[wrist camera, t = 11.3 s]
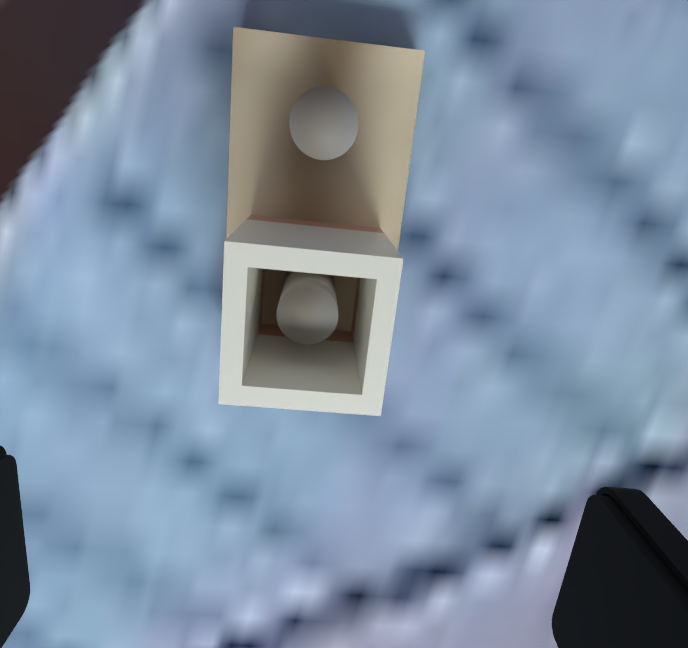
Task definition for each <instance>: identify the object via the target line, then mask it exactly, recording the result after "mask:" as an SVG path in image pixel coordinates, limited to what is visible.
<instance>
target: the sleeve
mask: <svg viewBox="0 0 688 648" xmlns="http://www.w3.org/2000/svg"><path fill="white" fill-rule="evenodd" d="M402 265H403V257H402V256H401V255H400V253H399V252H398V251H397V249H396V248H395V247H394V245H393V244H392V243H391V241H390V240H389V239H388V237H387V236H386V235H385V233H384V232H383V231H382V229H381V228H375V227H365V226H355V225H345V224H336V223H326V222H316V221H306V220H296V219H286V218H277V217H267V216H257V215H250V216H249V217H248V218H247V219H246V220H245V221H244V222H243V223H242V224H241V225H240V226H239V227H238V228H237V229H236V230H235V231H234V232H233V233H232V234H231V235H230V236H229V237H228V238H227V239H226V240H225V241H224V267H223V296H222V324H221V352H220V380H219V404H226V405H240V406H253V407H267V408H280V409H294V410H307V411H321V412H334V413H348V414H361V415H375V416H381V410H382V403H383V396H384V389H385V382H386V376H387V369H388V362H389V355H390V348H391V341H392V334H393V327H394V320H395V313H396V306H397V299H398V293H399V286H400V279H401V272H402ZM265 269H273V270H283V271H294V272H305V273H315V274H326V275H337V276H347V277H357V286H356V294H355V303H354V311H353V320H352V328H351V332H349V331H338V330H334V331H333V333H332V334H331V335H330V336H329V337H328V338H326V339H325V340H323V341H321V342H319V343H316V344H300V343H297V342H294V341H292V340H290V339H289V338H288V337H286V336H285V335H284V334H283V332H282V331H281V329H280V328H279V325H268V324H262V310H263V293H264V277H265Z"/></svg>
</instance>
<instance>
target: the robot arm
mask: <svg viewBox="0 0 688 648" xmlns="http://www.w3.org/2000/svg"><path fill="white" fill-rule="evenodd" d="M29 596H30V582H29V573H28V564H27V555H26V546H25V537H24V528H23V519H22V510H21V501H20V492H19V483H18V474H17V465H16V460H15V458H14V457H13V456H11V455H7V454H6V451H5V449H4V448H3V447H2V446H0V648H2V646H3V645H4V643H5V642H6V640H7V638H8V637H9V635H10V634H11V632H12V631H13V629H14V628H15V626H16V624H17V623H18V621H19V620H20V618H21V617H22V615H23V613H24V611H25V609H26V606H27V604H28V600H29ZM552 630H553V635H554V638H555V641H556V643H557V646H558V648H688V541H687V539H686V538H685V537H684V536H683V535H682V534H681V533H680V532H679V531H678V530H677V529H676V527H675V526H674V525H673V524H672V523H671V522H670V521H669V520H668V519H667V518H666V516H665V515H664V514H663V513H662V512H661V511H660V510H659V509H658V508H657V507H656V506H655V504H654V503H653V502H652V501H651V500H650V499H649V498H648V497H647V496H646V495H645V494H644V493H643V492H642V491H641V490H637V489H629V488H614V487H603V488H601V489H600V490H599V491H598V492H597V494H596V495H592V496H590V497H589V498H588V500H587V502H586V506H585V509H584V512H583V516H582V519H581V522H580V526H579V529H578V532H577V536H576V539H575V542H574V546H573V549H572V552H571V556H570V559H569V562H568V566H567V569H566V572H565V576H564V579H563V582H562V586H561V589H560V592H559V596H558V599H557V602H556V606H555V609H554V612H553V616H552Z"/></svg>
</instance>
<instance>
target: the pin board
mask: <svg viewBox="0 0 688 648" xmlns="http://www.w3.org/2000/svg"><path fill="white" fill-rule="evenodd" d="M424 56H425V51H423V50H415V49H407V48H399V47H391V46H383V45H375V44H367V43H359V42H351V41H343V40H335V39H327V38H319V37H311V36H303V35H295V34H287V33H279V32H271V31H263V30H255V29H247V28H239V27H233V52H232V82H231V113H230V143H229V173H228V203H227V234H226V239H227V238H228V237H229V236H230V235H231V234H232V233H233V232H234V231H235V230H236V229H237V228H238V227H239V226H240V225H241V224H242V223H243V222H244V221H245V220H246V219H247V218H248V217H249V216H250V215H257V216H267V217H277V218H286V219H296V220H306V221H316V222H326V223H336V224H345V225H355V226H365V227H375V228H381V229H382V231H383V232H384V233H385V235H386V236H387V237H388V239H389V240H390V241H391V243H392V244H393V245H394V247H395V248H396V249H397V251H398V246H399V238H400V231H401V224H402V216H403V209H404V202H405V195H406V187H407V180H408V173H409V165H410V158H411V151H412V143H413V136H414V129H415V122H416V114H417V107H418V100H419V92H420V85H421V78H422V70H423V63H424ZM356 286H357V277H347V276H337V275H326V274H315V273H305V272H294V271H283V270H273V269H265V277H264V293H263V310H262V324H268V325H279V328H280V329H281V331H282V332H283V334H284V335H285V336H286V337H288V338H289V339H290V340H292V341H294V342H297V343H300V344H316V343H319V342H321V341H323V340H325V339H326V338H328V337H329V336H330V335H331V334H332V333H333V331H334V330H338V331H349V332H351V328H352V320H353V311H354V303H355V294H356Z"/></svg>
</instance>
